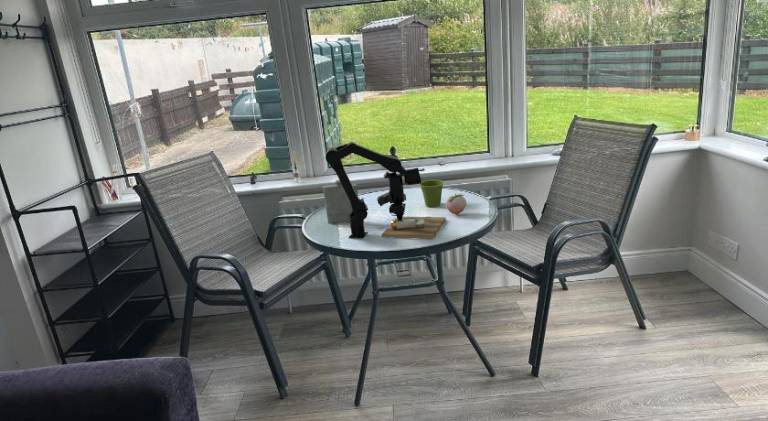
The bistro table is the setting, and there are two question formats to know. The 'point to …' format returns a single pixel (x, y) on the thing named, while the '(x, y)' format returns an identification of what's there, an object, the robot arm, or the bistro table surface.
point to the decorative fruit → (456, 204)
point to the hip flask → (337, 203)
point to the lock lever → (407, 223)
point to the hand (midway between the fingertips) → (399, 221)
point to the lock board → (417, 229)
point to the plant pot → (432, 192)
